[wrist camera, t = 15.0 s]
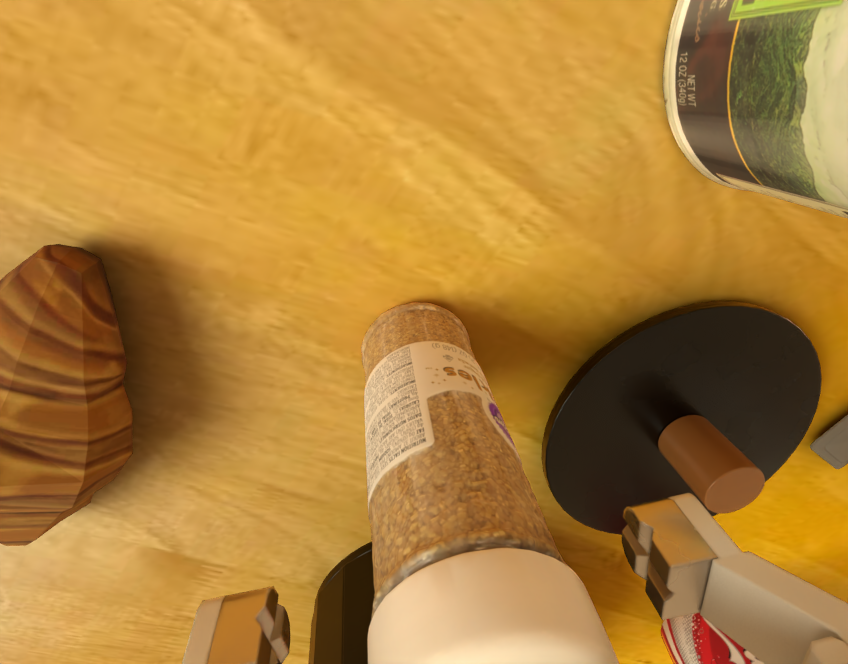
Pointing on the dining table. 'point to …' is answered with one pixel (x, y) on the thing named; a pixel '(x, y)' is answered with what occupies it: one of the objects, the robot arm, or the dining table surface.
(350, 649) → the pot
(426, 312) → the sprinkles bottle
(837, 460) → the key chain
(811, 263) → the dining table surface
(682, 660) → the soda can
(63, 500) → the croissant
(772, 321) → the pot lid
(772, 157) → the coffee can
